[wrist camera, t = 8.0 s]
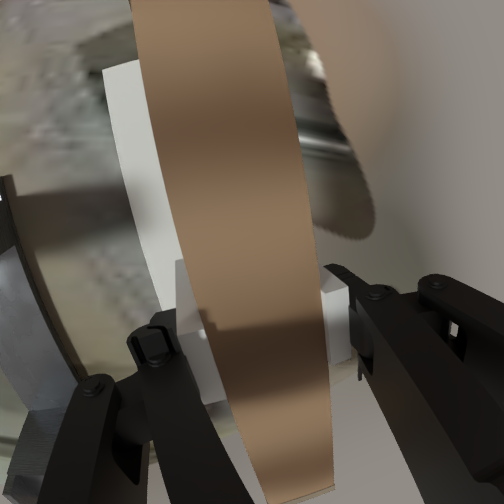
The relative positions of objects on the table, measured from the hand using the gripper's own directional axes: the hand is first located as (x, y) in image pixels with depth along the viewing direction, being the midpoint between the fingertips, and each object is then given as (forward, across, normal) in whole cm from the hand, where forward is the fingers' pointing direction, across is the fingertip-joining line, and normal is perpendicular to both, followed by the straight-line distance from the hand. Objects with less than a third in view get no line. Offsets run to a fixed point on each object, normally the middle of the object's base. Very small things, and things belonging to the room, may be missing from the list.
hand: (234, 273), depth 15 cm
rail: (-3, 0, 0) cm, 3 cm away
